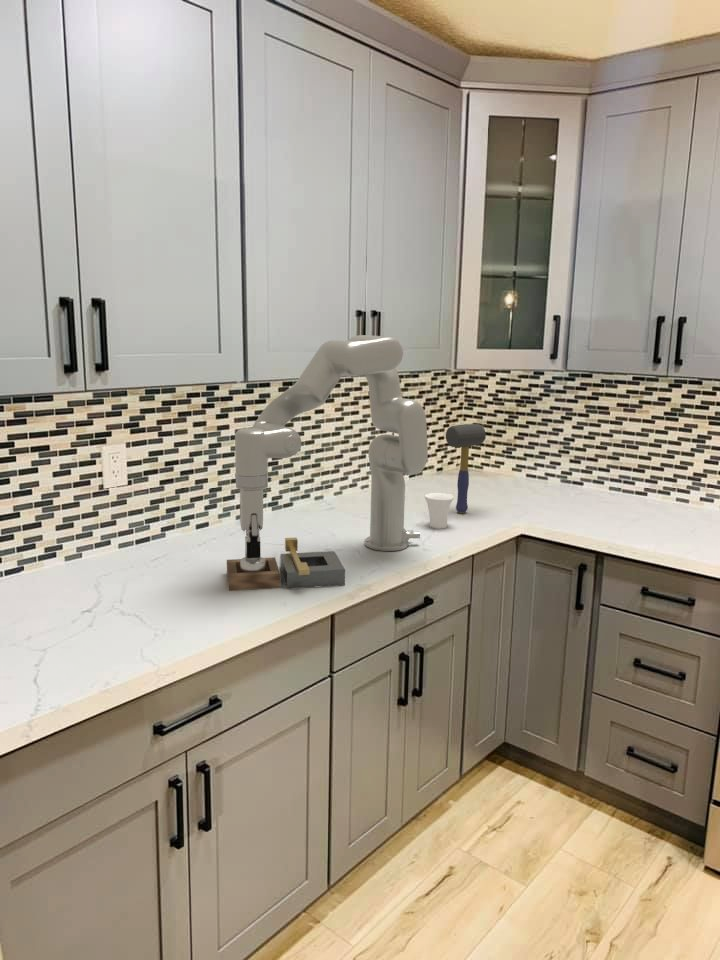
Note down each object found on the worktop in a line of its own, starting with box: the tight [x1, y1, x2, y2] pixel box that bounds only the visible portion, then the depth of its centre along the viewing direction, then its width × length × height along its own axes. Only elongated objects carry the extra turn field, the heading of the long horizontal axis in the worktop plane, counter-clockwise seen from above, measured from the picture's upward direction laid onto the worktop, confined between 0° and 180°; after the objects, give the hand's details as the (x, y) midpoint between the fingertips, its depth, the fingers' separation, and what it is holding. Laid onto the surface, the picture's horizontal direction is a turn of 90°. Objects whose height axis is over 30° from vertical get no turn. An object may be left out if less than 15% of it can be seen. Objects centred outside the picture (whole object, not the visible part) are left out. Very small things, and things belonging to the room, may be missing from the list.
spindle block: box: [279, 550, 346, 590], centre depth 177 cm, size 14×14×4 cm
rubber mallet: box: [445, 423, 487, 514], centre depth 236 cm, size 12×8×30 cm, turn 123°
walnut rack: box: [226, 556, 281, 592], centre depth 174 cm, size 12×12×4 cm
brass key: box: [284, 537, 310, 575], centre depth 175 cm, size 3×20×3 cm, turn 13°
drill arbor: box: [240, 536, 265, 573], centre depth 173 cm, size 6×6×10 cm
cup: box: [424, 492, 454, 530], centre depth 222 cm, size 9×9×10 cm
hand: (253, 554), depth 173 cm, fingers closed on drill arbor, 3 cm apart
